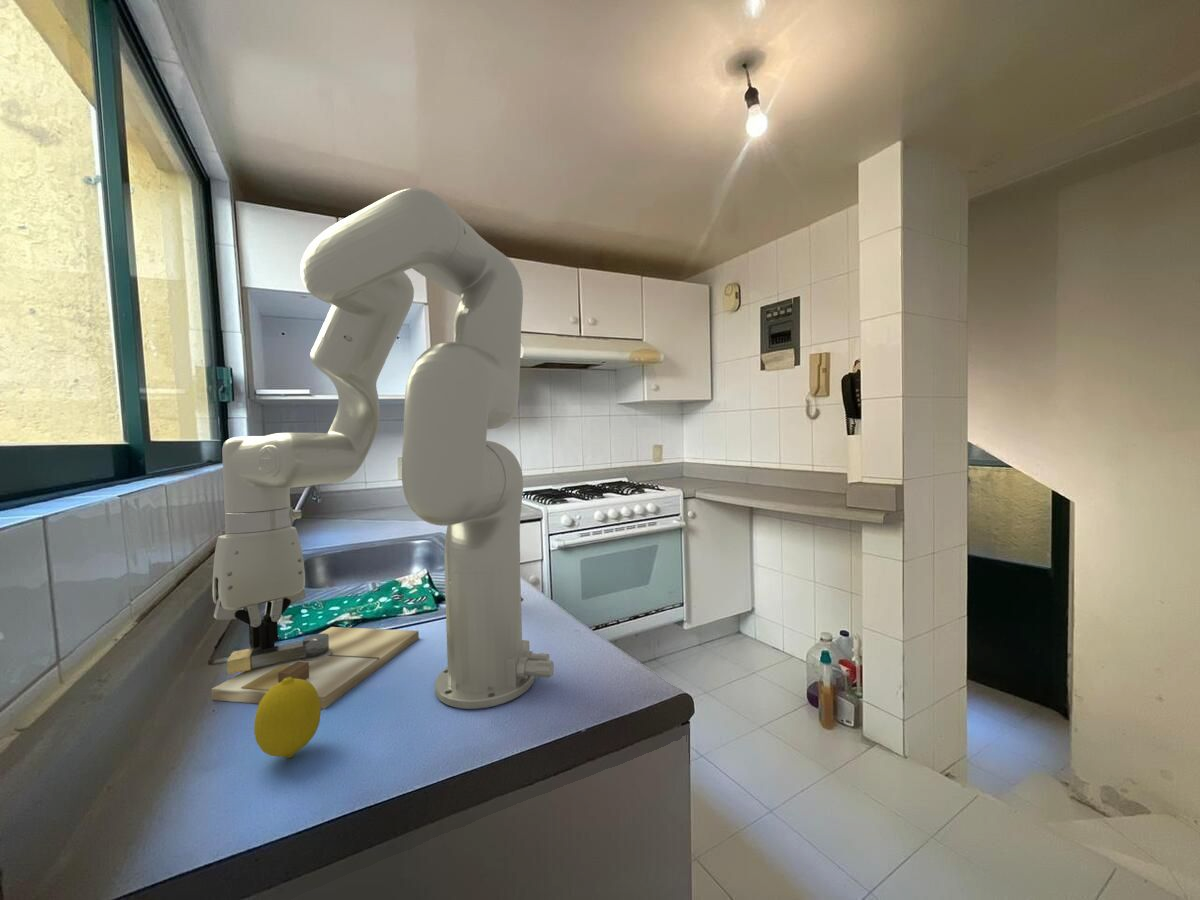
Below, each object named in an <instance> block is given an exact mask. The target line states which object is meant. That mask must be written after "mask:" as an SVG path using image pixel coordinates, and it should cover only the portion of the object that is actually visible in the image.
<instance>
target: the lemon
mask: <svg viewBox="0 0 1200 900" xmlns="http://www.w3.org/2000/svg"><path fill="white" fill-rule="evenodd" d="M321 713H322V709H321V704H320V699H319V696H318V693H317V691H316V689H315V688H314V686H313V685H312V684H311V683H309V682H307V681H305V680H302V679H293V678H291V677H287V678H285V679H283V681H282V682H280V683H278V684H276V685H275V686H274V687H272V688H271V689H270V690H269V691H268V692H267V693H266V694H265V695H264V697H263V698H262V700H261V701H260V703H259V704H258V705H257V708H256V711H255V717H254V726H253V731H254V733H253V734H254V739H255V741H256V743H257V745H258V747H259V749H261V751H262V752H264V753H265V755H269V756H271V757H276V758H278V757H283V758H285V759H291V758H292V757H294V755H296V753H297V752H299V751H300V750H302V749H303V748H304V747H305V746H307V745H308V744H309V742H310V741H311V740H312V739H313V738H314V735H315V734H316V733H317V730H318V728H319V725H320V721H321V715H322V714H321Z"/></svg>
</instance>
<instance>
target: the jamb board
mask: <svg viewBox="0 0 1200 900" xmlns="http://www.w3.org/2000/svg"><path fill="white" fill-rule="evenodd" d="M318 634H328V635H329V650H328V651H327V652H326V653H324V654H322V655H318V656H314V657H303V658H298V659H294V660H289V661H284V662H279V663H275V664H270V665H265V666H260V667H256V668H251V670H248V671H243V672H240V673H239V674H237V675H235V676H233V677H231V678H229V679H227V680H225V681H224V682H221V683H220V684H218V685H216V686H214V687H212V688H211V700H212V701H222V702H232V703H233V702H234V703H245V704H246V703H247V704H258V705H259V703H260V701H261V700H262V698H263V697H264V695H265V694H266V693H267V692H268V691H269V690H270V689H271V688H272V687H274V686H275V685H276V684H278V683H280V682H282V681H283V679H285V678H287V677H291V678H293V679H302V680H305V681H307V682H309V683H311V684H312V685H313V686H314V688H315V689H316V691H317V693H318V696H319V699H320V704H321V710H325V709H326V708H328V707H330V706H331V705H332V704H333V703H334V702H336V701H337V700H338V699H340V698H341V697H343V695H345V694H347V693H348V692H349V691H351V689H353V688H354V687H356V686H357V685H358V684H360V683H362V681H364V680H365V679H366V678H368V677H370V676H371V675H372V674H373V673H375V672H376V671H378V670H379V669H380V668H381V667H383V666H384V665H385V664H386V663H387V662H389V661H390V660H392V659H394V657H396V656H397V655H398V654H400V653H401V652H403V651H404V650H405V649H406V648H408V647H409V646H411V644H413V643H414V642H415V641H417V640H418V639H419V637H420V635H419V634H420V633H419V630H408V629H407V630H404V629H382V628H365V627H364V628H363V627H345V626H344V627H343V626H341V627H340V626H338V627H337V626H330V627H329V628H327V629H325V630H323V631H320V632H319V633H318Z"/></svg>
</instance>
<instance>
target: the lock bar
mask: <svg viewBox="0 0 1200 900" xmlns="http://www.w3.org/2000/svg"><path fill="white" fill-rule="evenodd" d="M328 650H329V635H328V634H319V633H317V634H316V633H315V634H311V635H308V636H307V637H304V639H302V640H301V641H296V642H295V641H294V642H290V643H285V644H280V645H275V646H274V647H269V648H263V649H258V650H255V649H254V648H251V647H250V648H245V649H241V650H236V651H235V650H234V651H232V652H231V654H230V656H229V657H228V659H227V661H226V664H227V666H226V668H227V669H226V671H227V675H232V674H238V673H243V672H244V671H248V670H251V668H256V667H260V666H265V665H270V664H275V663H279V662H284V661H289V660H294V659H298V658H303V657H314V656H318V655H322V654H324V653H326V652H327V651H328Z"/></svg>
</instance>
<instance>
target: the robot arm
mask: <svg viewBox="0 0 1200 900" xmlns="http://www.w3.org/2000/svg"><path fill="white" fill-rule="evenodd" d="M410 269H413V271H416V272H417V273H419V274H420V275H421V276H423V277H424V278H426V279H428V280H430V281H431V282H433V283H434V284H436V285H438V286H440V287H441V288H443V289H444V290H447V291H449V292H451V293H452V294H455V295H457V296H458V297H460V298H461V300H460V301H459V303H458V306H457V307H456V311H455V314H454V319H453V327H452V328H453V329H452V330H453V335H452V336H453V337H452V339H453V340H452V341H448V342H440V343H437V344H435V345H433V346H430V347H429V348H427V349H425V351H424V352H423V353H422V354H420V356H419V357H418V358H417V359H416V361H415V362H414V363H413V366H412V367H411V370H410V372H409V375H408V377H407V381H406V386H405V394H404V409H403V411H404V412H403V430H402V431H403V432H402V434H403V435H402V452H401V453H402V454H401V456H402V457H401V458H402V459H401V483H402V490H403V493H404V497H405V500H406V502H407V504H408V506H409V508H410V510H411V511H412V512H413V513H414V514H415V515H416V516H417V517H418V518H419V519H421V520H422V521H423V522H426V523H429V524H431V525H435V526H440V527H441V526H443V527H445V526H446V530H445V531H446V533H445V539H444V550H443V551H444V552H443V553H444V589H445V590H444V591H445V593H444V595H445V596H444V597H445V620H446V621H445V626H446V627H445V628H446V629H445V631H446V632H445V633H446V658H447V659H446V661H447V666H446V667H445V668H444V669H443V670H442V671H441V672H440V673H438V674H437V677H436V679H435V683H434V691H435V692H434V693H435V695H436V698H437V699H438V700H439V701H440V702H442V703H443V704H445V705H447V706H450V707H453V708H458V709H465V710H467V709H469V710H475V709H477V710H478V709H485V708H490V707H491V708H492V707H496V706H499V705H503V704H506V703H508V702H510V701H512V700H514V699H516V698H518V697H520V696H522V695H523V694H524V693H526V692H527V691H529V689H530V687H532V685H533V683H534V682H535V680H536V677H537V678H545V679H546V678H548V679H551V678H552V677H553V675H554V669H555V668H554V666H555V664H554V661H553V660H550V654H549V653H545V652H544V653H541V652H540V653H533V650H530V640H527V639H525V640H524V639H523V627H522V626H523V624H522V622H523V621H522V592H521V590H522V589H521V586H522V585H521V544H520V543H521V539H520V538H521V534H520V533H521V517H522V516H521V515H522V514H521V513H522V503H523V495H524V476H523V471H522V468H521V464H520V463H519V461H518V459H517V457H516V456H515V454H514V453H513V452H512V451H511V450H510V449H509V448H507V447H506V446H505V445H502V444H500V443H498V442H495V441H492V440H491V441H490V440H487V436H488V430H494V429H498V428H501V427H502V426H505V425H506V424H508V423H509V422H510V421H511V420H512V419H513V417H514V415H515V414H516V411H517V410H518V404H519V399H520V397H519V396H520V374H521V373H520V372H521V351H522V321H523V320H522V319H523V306H524V303H523V302H524V301H523V299H524V292H523V291H524V290H523V281H522V280H521V279H522V278H521V276H520V273H519V271H518V269H517V267H516V266H515V264H514V263H513V262H512V261H511V259H509V257H507V255H505V254H504V253H503V252H501V251H500V250H498V249H497V248H496V247H495V246H493V245H492V244H491V243H490V242H488V241H487V240H485V239H484V238H483V237H482V236H480V234H478V232H476V231H475V229H474V228H473V227H472V226H471V225H470V224H468V222H466V221H465V220H464V218H462V217H461V215H460V214H458V213H457V212H456V210H455V209H454V208H452V206H451V205H450V204H449V203H448V202H446V201H445V200H444V199H443V198H442V197H440V196H439V195H437V194H436V193H433V192H432V191H430V190H427V189H423V188H419V187H416V188H404V189H401V190H398V191H395V192H393V193H391V194H388V195H387V196H385V197H382V198H381V199H378V200H377V201H375V202H373V203H371V204H369V205H368V206H366V207H363V208H362V209H360V210H358V211H356V212H354V213H352V214H351V215H348V216H347V217H345V218H343V219H341V220H339V221H338V222H335V223H334V224H333V225H331V226H329V227H328V228H326V229H325V230H323V231H322V232H321V233H320V234H319V235H318V236H317V237H315V238H314V239H313V240H312V241H311V243H310V244H309V245H308V246H307V248H306V250H305V251H304V253H303V256H302V258H301V260H300V266H299V271H300V277H301V281H302V283H303V285H304V287H305V288H306V290H307V291H308V293H310V294H311V295H312V296H313V297H315V298H317V299H318V300H320V301H322V302H325V303H327V304H329V305H331V307H330V308H329V310H328V312H327V315H326V318H325V320H324V322H323V324H322V326H321V328H320V330H319V333H318V335H317V338H316V340H315V341H314V344H313V346H312V348H311V350H310V355H309V356H310V361H311V363H312V364H313V365H314V367H316V369H318V370H319V371H320V372H321V373H323V375H325V376H326V377H328V379H329V380H330V381H331V382H332V384H333V385H334V387H335V389H336V392H337V398H338V401H337V402H338V404H337V405H338V406H337V411H336V413H335V416H334V418H333V421H332V423H331V425H330V427H329V430H328V432H326V433H325V432H277V433H271V434H267V435H247V436H246V435H245V436H234V437H231V438H228V439H227V440H225V441H224V442H223V445H222V449H221V451H222V453H221V454H222V474H223V477H222V478H223V479H222V480H223V501H224V504H223V507H224V524H225V525H224V526H225V527H224V528H225V534H221V535H219V536H217V540H216V543H215V548H214V556H213V557H214V558H213V569H212V570H213V571H212V599H213V603H214V604H215V609H214V612H213V613H214V614H213V617H214V618H215V619H216V620H217V621H226V620H227V621H229V620H240V621H242V622H243V623H245V624H247V625H248V635H249V636H248V638H249V647H250V648H254V650H258V649H263V648H269V647H274V646H276V645H275V643H276V642H278V641H279V629H278V621H280V620H281V618H282V615H283V613H284V612H285V611H286V610H287V609H288V608H289V607H290V606H291V605H292V604H295V603H297V602H300V601H301V600H303V599H305V598H306V596H307V595H306V594H307V593H306V591H305V585H306V572H305V571H306V570H305V564H304V561H305V560H304V555H303V551H302V545H301V542H300V537H299V534H298V530H297V528H296V527H295V526H292V525H293V524H294V523H293V522H294V521H295V520H296V519H297V520H298V519H301V518H302V510H301V509H293V507H292V506H291V495H290V494H291V492H290V489H292V488H301V487H302V488H303V487H311V486H314V485H315V486H316V485H322V484H323V485H324V484H325V485H326V484H334V483H340V482H343V481H345V480H348V479H350V478H351V477H352V476H353V475H354V474H356V472H357V471H358V470H359V469H360V468H361V466H362V465H363V463H364V461H365V459H366V458H367V455H368V454H369V451H370V449H371V447H372V445H373V443H374V440H375V439H376V436H377V432H378V430H379V426H380V425H379V424H380V400H379V394H378V388H377V382H378V378H379V377H380V374H381V372H382V370H383V368H384V365H385V363H386V361H387V359H388V357H389V354H390V353H391V350H392V347H394V343H395V342H396V340H397V337H398V335H399V334H400V331H401V329H402V326H403V324H404V323H405V320H406V318H407V316H408V314H409V312H410V309H411V307H412V304H413V302H414V297H415V296H414V295H415V291H414V290H415V289H414V286H413V282H412V280H411V279H410V278H409V276H408V274H406V273H405V272H406V271H409V270H410ZM261 604H265V608H264V615H263V618H262V619H261V617H262V616H261V613H260V609H259V605H261Z"/></svg>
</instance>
